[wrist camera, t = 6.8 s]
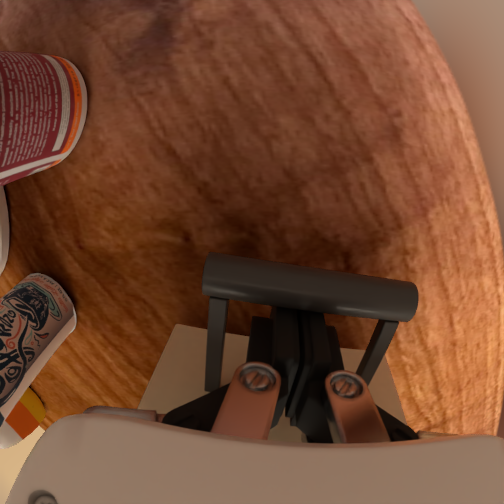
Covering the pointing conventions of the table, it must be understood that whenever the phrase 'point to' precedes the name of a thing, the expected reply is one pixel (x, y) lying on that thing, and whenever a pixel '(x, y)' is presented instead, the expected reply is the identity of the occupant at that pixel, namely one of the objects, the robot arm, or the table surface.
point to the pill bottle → (38, 112)
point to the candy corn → (22, 419)
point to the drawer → (287, 296)
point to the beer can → (30, 334)
